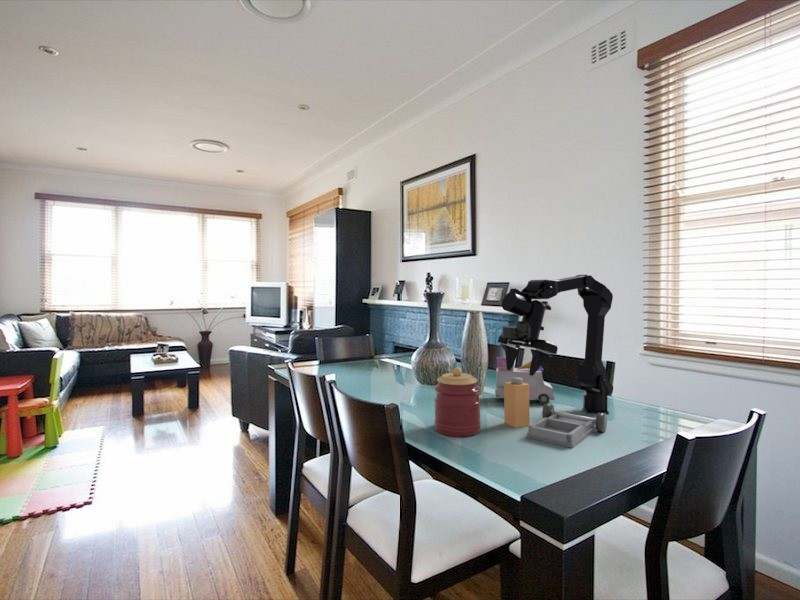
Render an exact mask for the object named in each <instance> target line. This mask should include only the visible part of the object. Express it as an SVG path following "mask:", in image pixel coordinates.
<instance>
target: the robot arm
mask: <svg viewBox="0 0 800 600" xmlns="http://www.w3.org/2000/svg"><path fill="white" fill-rule="evenodd" d="M573 290H577V294H578V296H579V297H580V298H581V299H582V300H583V301H582V306H583V309H584V310H585V312H586V314H587V322H586V325H587V326H586V336H585V351H584V360H583V361H582V362H581V363H578V364H577V366H576V374H575V377H577V378H576V379H577V382H578V386H579V390H581V391H584V394H582V407H583V409H584V410H585V411H586V413H589V414H590V413H594V414H598V413H605V414H606V415H607V414H608V415H609V413H610V411H609V410H608V396H610V395H611V394H613V392H614V386H613V385H612V383H611V382H610V380H609V379H608V378H607V377H608V376H607V369H606V367H605V365H604V363H603V361H602V359H603V350H604V349H603V345H604V334H605V332H604V331H605V319H606V316H607V314H608V313H609V312H610V310H611V307H612V304H613V298H614V295H613V293H612V292H611V290H610V289H609V288H608V287H607V286H606V285H605V284H603V283H601V282H599V281H598V280H596V279H595V278H594V277H593V275H590V274H577V275H574V276H569V277H563V278H559V279H531V280H529V281H528V282H527V284H526V286H525V287H524V288H523V289H522V290H519V289H518V288H510V290H509V292H508V293H506V294H505V296H504V297H503V298H502V299H501V300H502V301H501V307H502V309H503V311H505V312H508V313H511V314H513V315H516V316H518V317H522V318H521V320H518V321H517V323H516V325H507V326H505V325H504V326H502V334H500V335H499V336H498V339H497V343H498V344H499V346H500V347H502V349H503V350H504V354H505V355H504V356H505V358H506V365H507V370H511V368H512V367H513V364H514V365H515V362H516V360H517V358H518V355H519V353H520V351H521V349H519V348H520V347H524V348H530V353H531V356H532V357H531V360H530V361H531V366H530V372H529V375H531V376H533V375H534V374H535V373H536V371H537V370H538V369H540V367H541V366H542V365H543V364H545V362H547V360H548V359H550V358H553V355H557V353H558V349H559V348H558V345H557V344H556V343H555V342H551V341H548V340H546V339H539V337H540V334H541V331H544V330H545V326H543V321H544V317H545V313H546V311H552V307H551V305H550V304H549V302H548V300H549V299H550V300H551V299H552V298H554V297H556V296H557V295H558V294H559V293H562V292H567V291H573ZM540 300H542V301H540ZM546 300H547V301H546Z"/></svg>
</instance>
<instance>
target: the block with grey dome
mask: <svg viewBox="0 0 800 600" xmlns="http://www.w3.org/2000/svg"><path fill="white" fill-rule="evenodd" d="M503 402H504V403H503V404H504V406H503V407H504V408H503V409H504V413H503V415H504V417H503V418H504V420H503V421H504V422H503V423H504V424H505V423H506V425H508V426H510V427H513V428H515V429H518V428H524V427H529V426H530V399H529V384H527V383H523V382H522V378H520V377H512V378H511V382H505V383H504V401H503Z"/></svg>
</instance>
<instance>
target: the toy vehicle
mask: <svg viewBox="0 0 800 600" xmlns="http://www.w3.org/2000/svg"><path fill="white" fill-rule="evenodd" d="M531 361H532V360H530V361H528V362H527V363H525V364H523V365H521V366H519V367H515V363H514V364H513V367H512V368H511V370H507V365H506V356H504V357H496V364H497V367H496V368H495V369H496V370H495V372H496V373H495V376H496V377H495V379H496V380H495V386H496V387H495V388H496V389H495V391H494V393H495V394H494V395H495V398H502V399H503V402H504V383H505V382H511V378H512V377H520V378H522V382H523V383H527V384H529V400H538V402H539V404H541V405H545V404H546V403H548V404H549V402H550V401H555V396H554V388H553V387H552V385H551V383H549V382H546V381H544V378H543V372H544V367H542V365H541V367H540V368H539V369H538V370H537V371H536V373H535V374H534V375H533V376H531V375H529V372H530V366H531Z"/></svg>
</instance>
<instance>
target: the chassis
mask: <svg viewBox="0 0 800 600" xmlns="http://www.w3.org/2000/svg"><path fill="white" fill-rule="evenodd" d="M541 412H542V413H541V416H542V418H541V419H540V420H538V421H536V422H534V423H532V424H529V426H528V432H527V433H526V438H528V439H532V440H537V441H541V442H545V443H550V444H554V445H558V446H561V447H566V448H567V447H568V448H571V449H573V448H575V447H576V446H577V445H578V444H580V443H581V442H582V441H585V439H586V438H587V437H589V436H590V435H591V434H592V433H594V432H596V431H597V432H602V433H605V432H606V430H607V427H608V416H607V413H596V414H597V415H596V417H595V416H594V417H590V416H585V415H578V414H573V413H568V412H563V411H561V410H557V411H556V410H555V406H554V404H552V403H549V402H548V403H546V404H543V407H542V411H541Z"/></svg>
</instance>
